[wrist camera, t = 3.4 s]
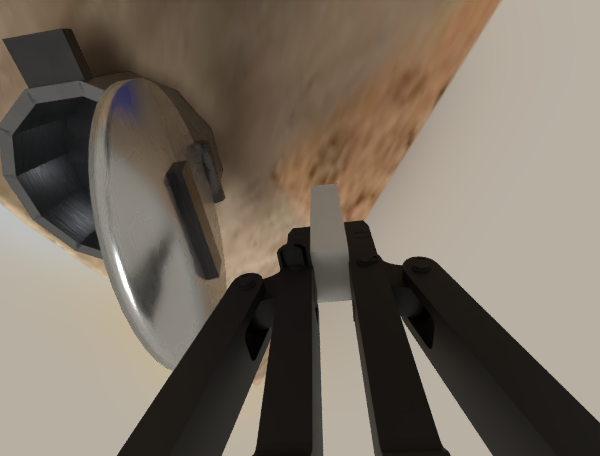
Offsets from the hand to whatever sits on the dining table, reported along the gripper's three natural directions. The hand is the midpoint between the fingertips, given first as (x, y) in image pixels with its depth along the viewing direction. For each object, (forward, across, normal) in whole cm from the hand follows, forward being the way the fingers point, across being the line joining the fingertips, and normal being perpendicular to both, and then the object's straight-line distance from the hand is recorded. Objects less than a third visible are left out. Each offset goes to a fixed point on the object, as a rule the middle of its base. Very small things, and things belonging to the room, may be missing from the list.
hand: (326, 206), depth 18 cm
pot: (+14, -18, 0) cm, 23 cm away
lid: (-1, -9, 0) cm, 9 cm away
